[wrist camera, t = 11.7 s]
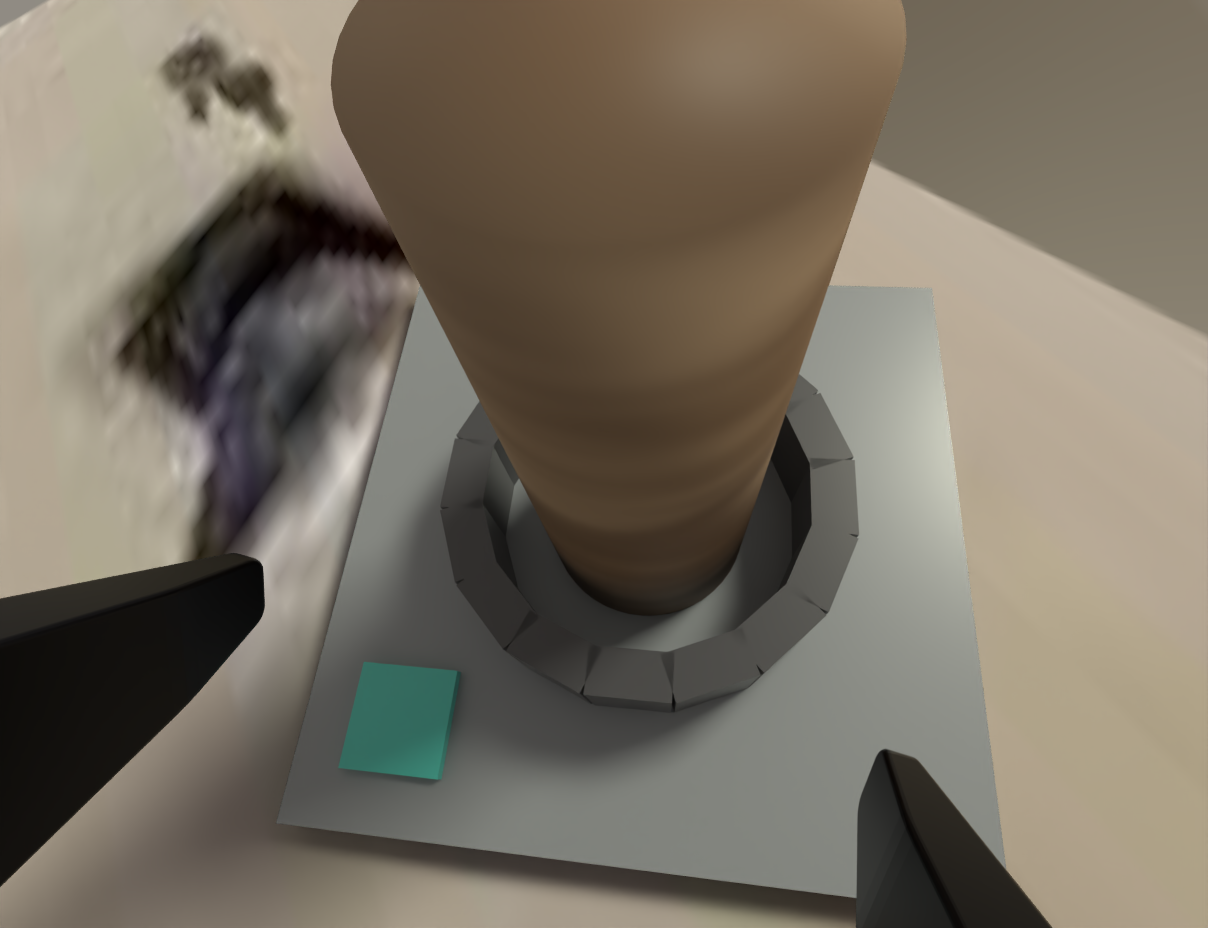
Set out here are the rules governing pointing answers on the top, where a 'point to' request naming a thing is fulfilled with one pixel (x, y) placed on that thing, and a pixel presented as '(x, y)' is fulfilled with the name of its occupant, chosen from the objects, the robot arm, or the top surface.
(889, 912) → the robot arm
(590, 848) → the socket
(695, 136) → the plug
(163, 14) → the top surface
